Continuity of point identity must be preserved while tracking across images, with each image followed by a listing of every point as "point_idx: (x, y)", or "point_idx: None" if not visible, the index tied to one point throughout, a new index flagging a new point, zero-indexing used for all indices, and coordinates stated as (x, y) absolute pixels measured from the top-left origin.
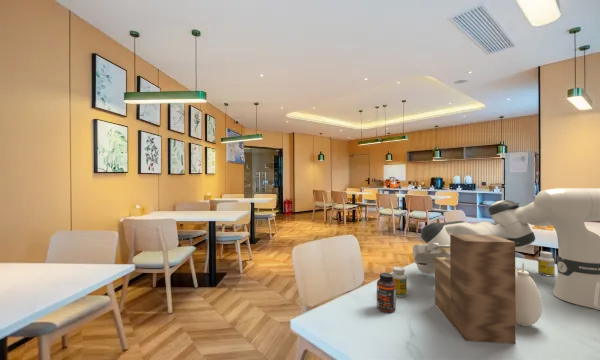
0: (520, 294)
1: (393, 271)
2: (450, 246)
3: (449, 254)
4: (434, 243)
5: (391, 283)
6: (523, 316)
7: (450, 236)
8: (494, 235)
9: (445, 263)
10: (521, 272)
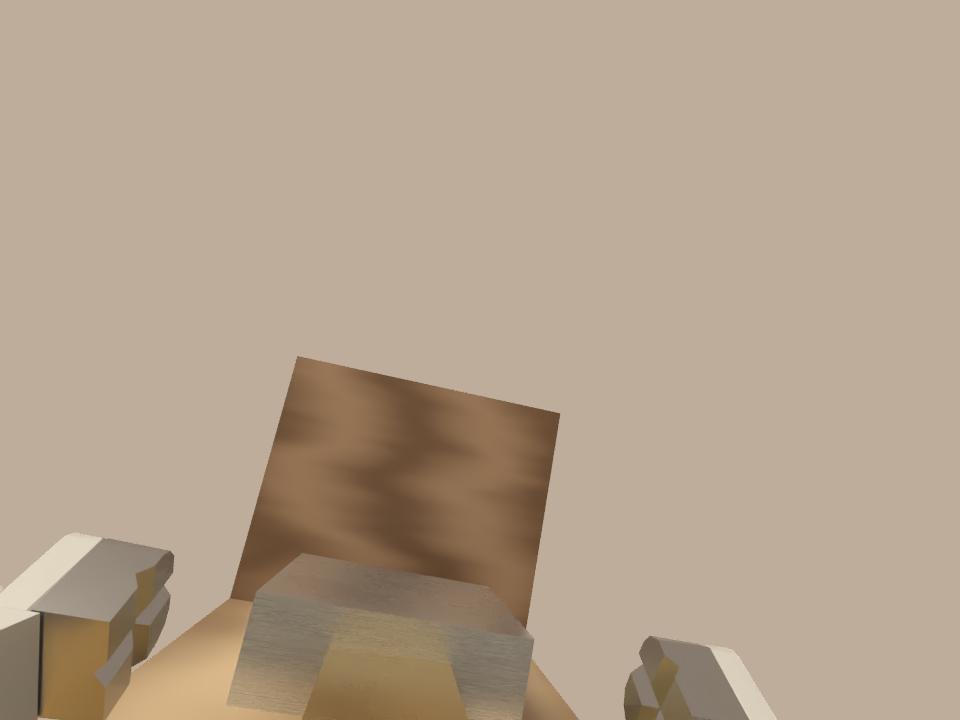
0: None
1: None
2: (547, 490)
3: (508, 612)
4: (702, 646)
5: None
6: None
7: (557, 426)
8: (303, 359)
9: (540, 687)
10: (3, 587)
